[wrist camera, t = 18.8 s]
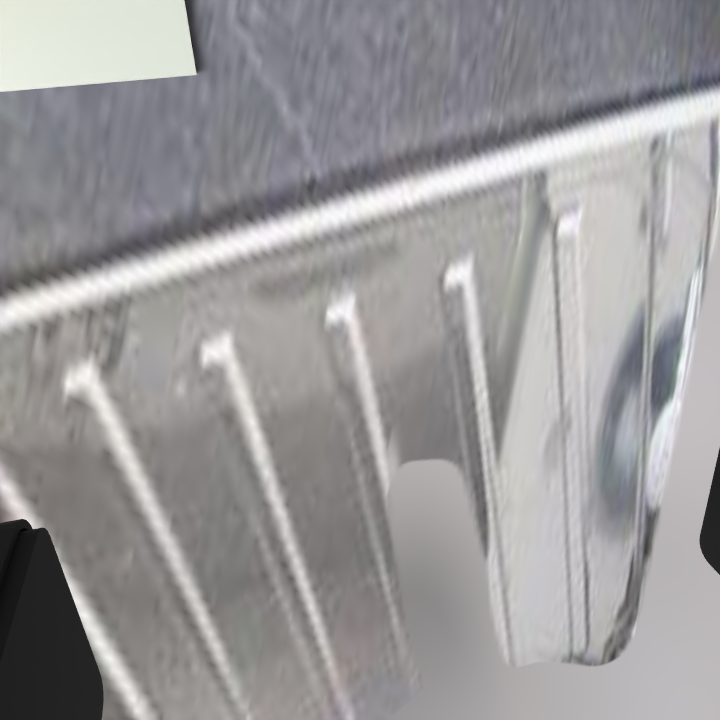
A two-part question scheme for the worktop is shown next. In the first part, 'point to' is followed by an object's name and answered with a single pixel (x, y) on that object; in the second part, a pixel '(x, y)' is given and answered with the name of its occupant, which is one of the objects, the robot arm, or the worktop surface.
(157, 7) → the sage mat
